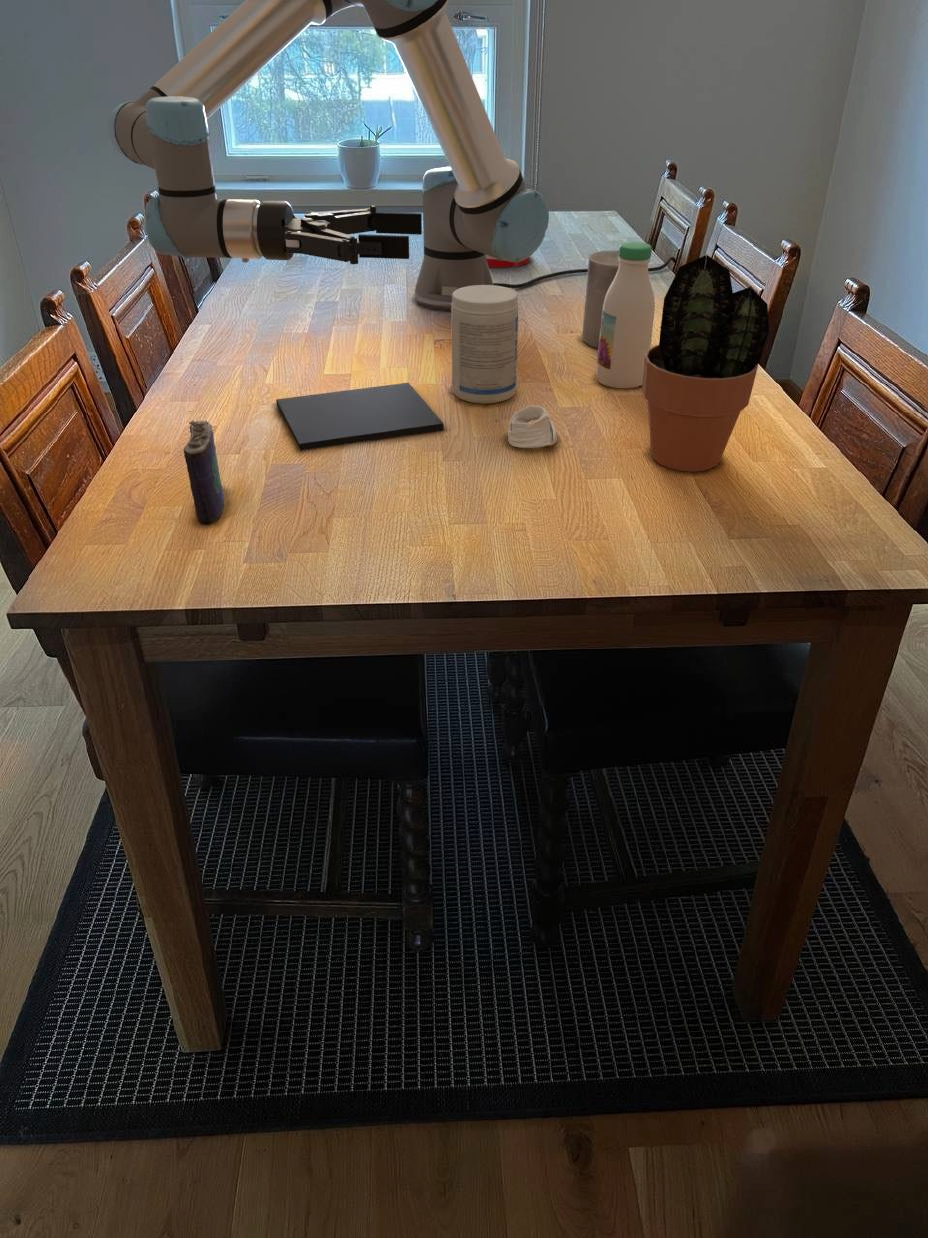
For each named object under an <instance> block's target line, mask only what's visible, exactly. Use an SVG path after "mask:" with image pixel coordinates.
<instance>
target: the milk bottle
mask: <svg viewBox="0 0 928 1238" xmlns="http://www.w3.org/2000/svg"><path fill="white" fill-rule="evenodd" d="M618 250H619V258H618V260H619V268H618V271H617V273H616V276H615V278H614V280H613V282H612V284H611V285H610V287H609V289H608V291H607V294H606V296H605V300H604V304H603V311H602V319H601V329H600V338H599V348H597V360H596V371H595V372H596V373H595V374H596V375H595V378H596V380H597V381H598V382H599V383H600V384H601V385H603V386H607V387H610V388H615V389H634V388H638V387H642V385H643V372H644V358H645V354H646V352H647V350H649V349H651V345H652V337H653V328H654V319H655V309H656V301H655V293H654V289H653V286H652V283H651V279H650V273H649V272H648V268H649V263H651V257H652V250H653V248H652V245H651V244H649V243H647V242H642V241H626V242H622V243H620V244H619V247H618Z"/></svg>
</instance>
